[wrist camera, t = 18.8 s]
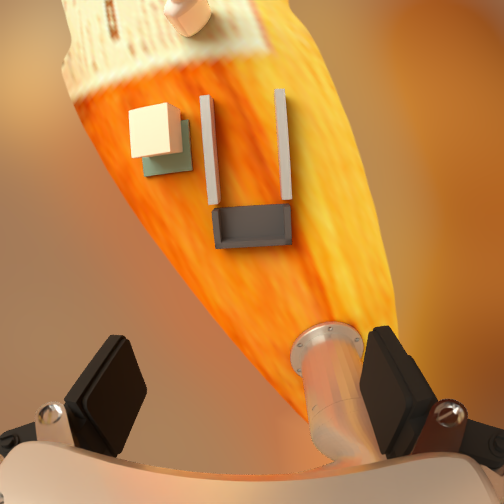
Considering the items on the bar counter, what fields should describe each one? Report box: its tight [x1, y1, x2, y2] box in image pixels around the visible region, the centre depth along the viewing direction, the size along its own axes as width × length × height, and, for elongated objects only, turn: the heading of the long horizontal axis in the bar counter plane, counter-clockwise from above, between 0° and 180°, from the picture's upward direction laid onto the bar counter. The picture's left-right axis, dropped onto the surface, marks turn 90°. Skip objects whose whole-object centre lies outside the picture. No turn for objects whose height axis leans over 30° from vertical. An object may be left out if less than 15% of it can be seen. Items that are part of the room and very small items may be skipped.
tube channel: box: [200, 89, 292, 205], centre depth 35 cm, size 14×10×3 cm
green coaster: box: [142, 120, 193, 177], centre depth 36 cm, size 7×7×1 cm
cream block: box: [129, 103, 183, 158], centre depth 33 cm, size 6×5×6 cm
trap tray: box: [212, 204, 292, 249], centre depth 38 cm, size 5×10×2 cm, turn 94°
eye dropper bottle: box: [164, 0, 211, 37], centre depth 25 cm, size 4×6×12 cm
